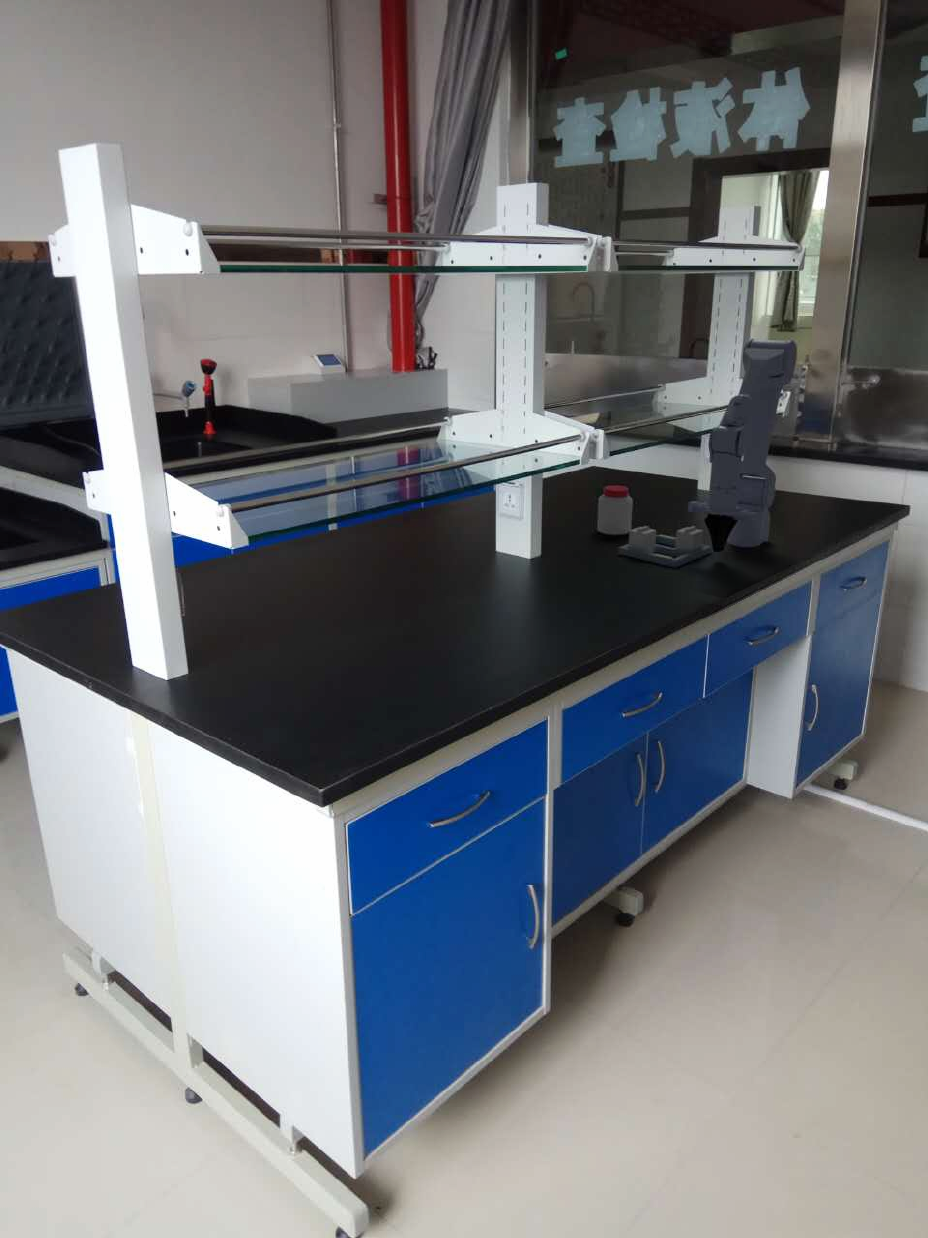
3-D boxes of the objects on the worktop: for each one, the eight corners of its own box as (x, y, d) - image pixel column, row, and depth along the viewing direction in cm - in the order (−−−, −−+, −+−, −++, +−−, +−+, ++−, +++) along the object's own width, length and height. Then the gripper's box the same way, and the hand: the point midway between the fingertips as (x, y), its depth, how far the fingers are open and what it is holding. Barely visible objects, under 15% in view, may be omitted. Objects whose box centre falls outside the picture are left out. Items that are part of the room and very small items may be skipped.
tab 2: (685, 549, 200) (687, 524, 198) (701, 553, 197) (703, 527, 195) (675, 553, 197) (676, 528, 195) (691, 557, 194) (693, 531, 192)
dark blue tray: (638, 541, 210) (638, 529, 209) (712, 558, 197) (714, 545, 197) (600, 554, 201) (601, 542, 200) (676, 573, 188) (677, 560, 187)
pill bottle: (630, 539, 211) (632, 492, 207) (596, 538, 213) (598, 491, 209) (631, 530, 218) (633, 484, 214) (598, 529, 220) (600, 483, 216)
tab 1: (639, 549, 200) (640, 524, 198) (654, 552, 198) (656, 527, 196) (628, 553, 198) (629, 527, 196) (644, 556, 195) (645, 531, 193)
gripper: (682, 483, 189) (677, 547, 194) (747, 494, 180) (740, 562, 184) (700, 478, 194) (695, 541, 199) (764, 488, 184) (757, 554, 189)
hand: (718, 550), depth 192 cm, fingers closed
